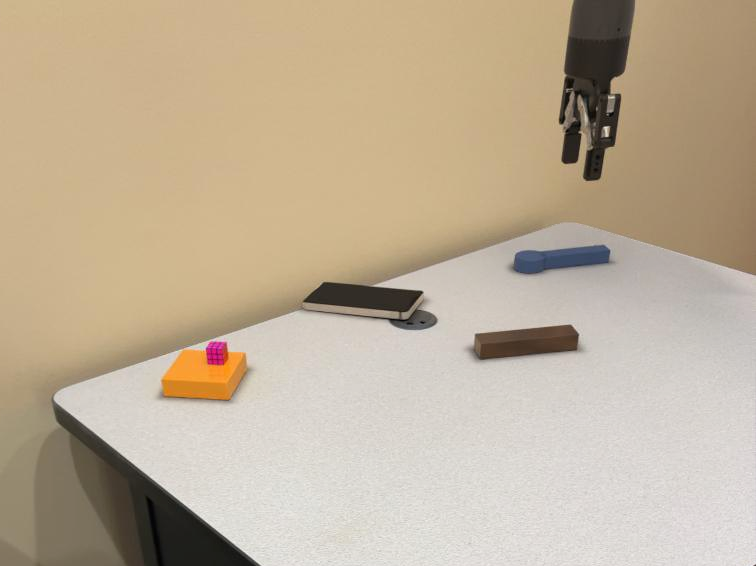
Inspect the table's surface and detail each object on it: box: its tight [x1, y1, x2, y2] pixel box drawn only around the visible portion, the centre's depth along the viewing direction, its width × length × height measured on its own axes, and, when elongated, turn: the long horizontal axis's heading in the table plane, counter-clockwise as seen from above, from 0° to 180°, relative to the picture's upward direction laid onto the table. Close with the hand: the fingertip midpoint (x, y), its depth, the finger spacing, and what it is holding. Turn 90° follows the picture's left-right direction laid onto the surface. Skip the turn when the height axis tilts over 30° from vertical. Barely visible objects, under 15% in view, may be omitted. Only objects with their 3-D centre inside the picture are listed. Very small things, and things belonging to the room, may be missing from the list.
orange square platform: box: [160, 340, 248, 401], centre depth 105 cm, size 8×8×4 cm
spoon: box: [513, 244, 611, 274], centre depth 129 cm, size 14×4×2 cm, turn 98°
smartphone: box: [302, 281, 425, 320], centre depth 122 cm, size 8×1×15 cm
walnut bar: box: [473, 324, 580, 360], centre depth 108 cm, size 12×3×2 cm, turn 96°
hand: (579, 171), depth 121 cm, fingers open, 8 cm apart
